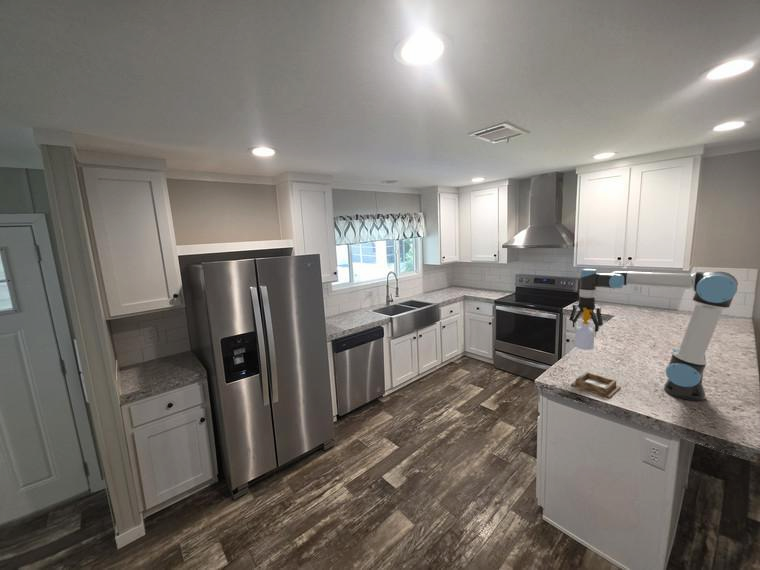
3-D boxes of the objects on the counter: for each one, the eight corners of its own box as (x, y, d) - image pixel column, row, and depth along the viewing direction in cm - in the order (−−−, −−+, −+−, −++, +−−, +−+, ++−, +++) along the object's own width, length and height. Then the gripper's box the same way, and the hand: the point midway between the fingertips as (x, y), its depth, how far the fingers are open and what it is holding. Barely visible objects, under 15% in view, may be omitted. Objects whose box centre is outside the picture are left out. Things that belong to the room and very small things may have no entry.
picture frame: (620, 388, 168) (621, 381, 168) (609, 398, 159) (610, 391, 158) (583, 376, 183) (583, 370, 182) (571, 385, 173) (571, 378, 173)
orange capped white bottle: (590, 345, 184) (592, 304, 180) (595, 350, 176) (598, 307, 172) (572, 344, 187) (575, 303, 183) (577, 349, 178) (580, 307, 174)
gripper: (612, 298, 170) (609, 337, 173) (569, 293, 187) (567, 329, 191) (606, 300, 166) (604, 341, 169) (563, 294, 183) (561, 332, 187)
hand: (584, 334), depth 180 cm, fingers closed on orange capped white bottle, 9 cm apart
